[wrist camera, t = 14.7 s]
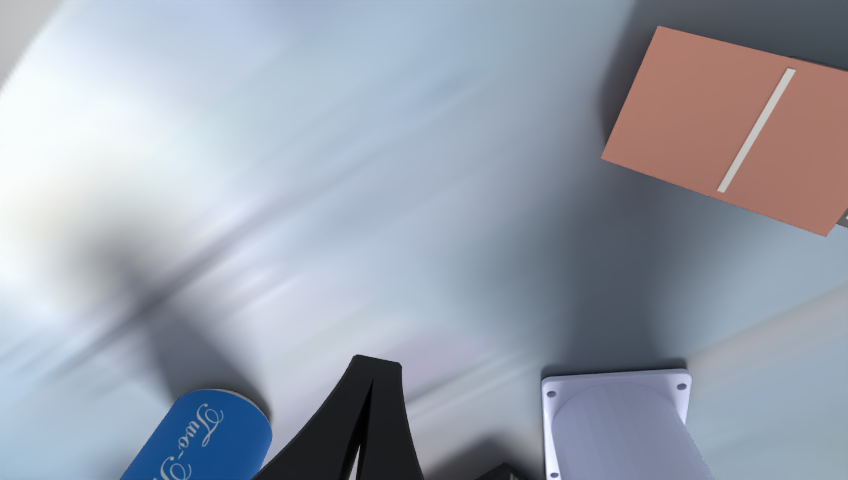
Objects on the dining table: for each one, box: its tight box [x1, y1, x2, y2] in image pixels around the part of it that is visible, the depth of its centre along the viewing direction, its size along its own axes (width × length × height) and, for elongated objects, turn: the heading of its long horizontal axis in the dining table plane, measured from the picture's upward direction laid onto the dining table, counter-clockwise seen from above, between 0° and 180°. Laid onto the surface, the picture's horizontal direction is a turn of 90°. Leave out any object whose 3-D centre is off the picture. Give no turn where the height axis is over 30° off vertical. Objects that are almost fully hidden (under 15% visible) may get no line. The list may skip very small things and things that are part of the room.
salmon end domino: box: [600, 26, 848, 237], centre depth 17 cm, size 2×5×8 cm
